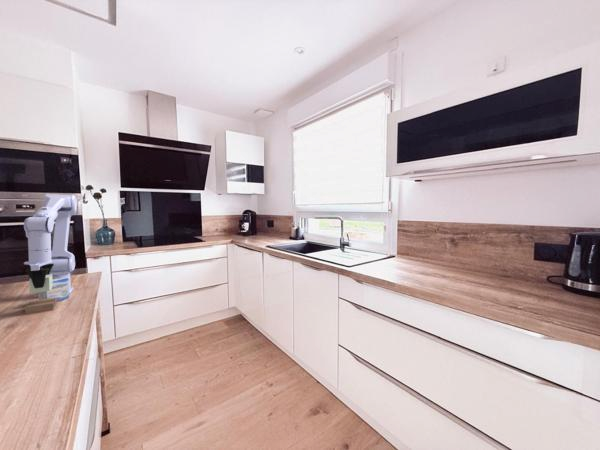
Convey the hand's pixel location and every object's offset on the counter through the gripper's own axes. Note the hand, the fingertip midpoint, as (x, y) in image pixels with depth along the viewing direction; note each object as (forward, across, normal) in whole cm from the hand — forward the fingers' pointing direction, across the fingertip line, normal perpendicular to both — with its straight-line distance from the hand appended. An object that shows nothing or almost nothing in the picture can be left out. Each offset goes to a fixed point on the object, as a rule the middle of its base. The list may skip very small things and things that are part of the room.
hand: (41, 285), depth 90 cm
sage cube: (+2, 0, 0) cm, 2 cm away
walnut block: (+9, 0, 0) cm, 9 cm away
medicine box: (+9, -8, +2) cm, 13 cm away
